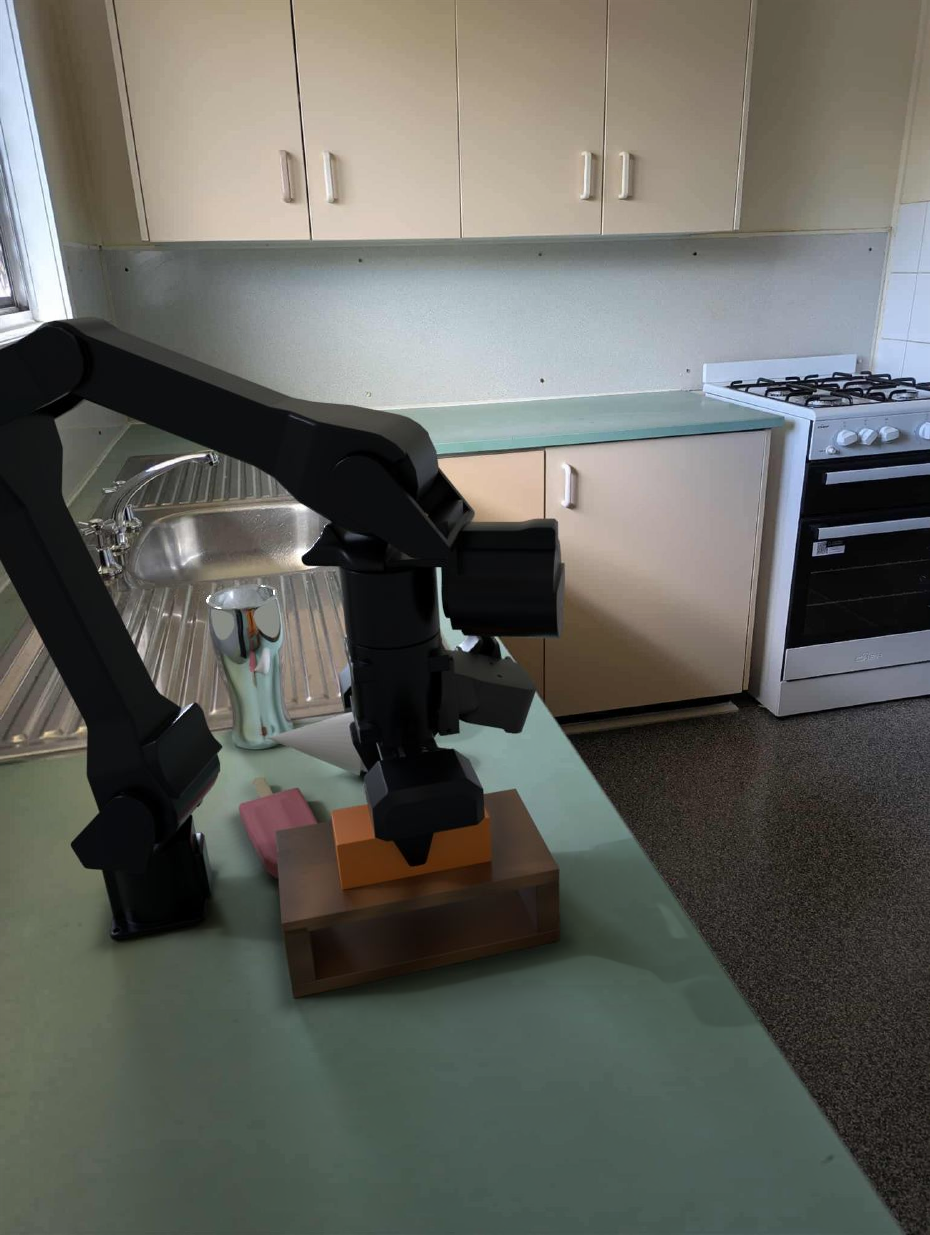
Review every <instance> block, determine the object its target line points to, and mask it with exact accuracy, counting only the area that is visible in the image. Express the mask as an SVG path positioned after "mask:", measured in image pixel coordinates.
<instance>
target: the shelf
mask: <svg viewBox="0 0 930 1235" xmlns="http://www.w3.org/2000/svg"><path fill="white" fill-rule="evenodd" d="M484 806H485V808H486V811H487V813H488V815H489V817H490V835H491V857H492V861H489V862H484V863H479V864H474V865H469V866H463V867H458V868H453V869H448V870H443V871H438V872H432V873H427V874H422V875H417V876H412V877H407V878H401V879H396V880H391V881H386V882H381V883H375V884H370V885H365V886H360V887H355V888H350V889H344V890H342V886H341V880H340V874H339V868H338V862H337V856H336V849H335V841H334V833H333V825H332V820H329V821H322V822H318V823H317V824H311V825H306V826H300V827H294V828H289V829H283V830H277V831H275V833H276V848H277V864H278V879H277V880H278V894H279V908H280V926H281V930H282V937H283V943H284V949H285V950H284V951H285V955H286V962H287V968H288V975H289V981H290V987H291V994H292V998H293V999H295V998H300V997H305V996H310V995H315V994H319V993H323V992H328V991H332V990H338V989H342V988H346V987H351V986H356V985H362V984H365V983H369V982H374V981H375V982H376V981H380V980H383V979H384V980H385V979H388V978H393V977H394V978H395V977H398V976H402V975H407V974H412V973H415V972H416V973H417V972H421V971H425V970H432V969H435V968H440V967H445V966H450V965H453V964H459V963H463V962H467V961H473V960H477V959H481V958H486V957H490V956H495V955H501V954H505V953H509V952H515V951H518V950H523V949H528V948H533V947H537V946H543V945H547V944H551V943H556V942H560V941H561V929H560V928H561V923H560V922H561V920H560V915H561V913H560V912H561V910H560V909H561V908H560V904H561V903H560V867H559V866H558V864H557V862H556V860H555V858H554V856H553V854H552V852H551V851H550V848H549V847H548V845H547V843H546V841H545V840H544V837H543V836H542V834H541V833H540V830H539V829H538V827H537V825H536V823H535V821H534V819H533V818H532V816H531V814H530V812H529V810H528V808H527V807H526V804H525V803H524V800H523V799H522V797H521V795H520V794H519V792H518V790H517V788H510V789H504V790H500V791H499V790H498V791H493V792H487V793H484Z"/></svg>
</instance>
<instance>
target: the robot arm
mask: <svg viewBox="0 0 930 1235" xmlns="http://www.w3.org/2000/svg"><path fill="white" fill-rule="evenodd" d="M86 401H88V402H90V403H93V404H95V405H97V406H100V407H103V408H105V409H108V410H110V411H113V412H116V413H118V414H120V415H123V416H126V417H127V418H131V419H133V420H135V421H138V422H140V423H144V424H146V425H147V426H150V427H153V428H155V429H159V430H161V431H164V432H166V433H169V434H171V435H173V436H176V437H179V438H181V439H184V440H186V441H189V442H192V443H194V444H196V445H199V446H201V447H204V448H206V449H209V450H212V451H215V452H217V453H219V454H222V455H225V456H227V457H230V458H232V459H235V460H237V461H239V462H242V463H244V464H247V465H250V466H252V467H254V468H257V469H258V470H260V471H262V472H263V473H265V474H267V475H268V476H270V477H272V478H273V479H274V480H275V481H276V482H277V483H278V484H279V485H280V486H281V487H283V489H285V491H286V492H288V494H289V495H291V497H292V498H293V499H294V500H295V501H297V502H298V503H299V504H301V505H303V506H304V507H306V508H307V509H309V510H310V511H313V512H315V513H316V514H317V515H319V516H321V517H323V518H324V519H325V520H327V521H329V522H327V523H326V524H325V525H324V526H323V529H322V531H321V533H320V535H319V537H318V538H317V540H316V541H315V542H314V544H313V545H312V546H311V547H310V548H309V549H308V550H307V551H306V552H304V553H303V554H302V555H301V563H302V565H304V566H306V567H333V568H334V567H335V568H338V573H339V574H338V575H339V582H340V583H339V584H340V591H341V592H340V593H341V602H342V611H343V621H344V628H345V637H343V645H344V652H345V657H346V660H347V664H346V665H345V666H344V667H343V668H342V670H341V671H340V672H339V673H338V684H339V692H340V698H341V704H342V708H343V711H344V714H346V713H349V712H352V713H353V717H354V722H351V723H350V724H349V730H350V734H351V739H352V743H353V745H354V747H355V749H356V751H357V753H358V754H359V756H360V758H361V760H362V762H363V764H364V766H365V767H366V769H367V771H368V772H366V774H365V775H364V777H363V780H364V784H363V785H362V786H363V791H364V795H365V799H366V804H368V809H369V814H370V818H371V823H372V827H373V831H374V835H375V838H378V839H381V840H384V841H386V842H388V841H393V842H394V843H395V845H396V846H397V848H398V849H399V851H400V852H401V854H402V855H403V857H404V858H405V860H406V861H407V863H408V864H409V866H411V867H414V866H419V865H423V864H425V863H426V862H427V858H428V854H429V850H430V846H431V842H432V838H433V835H434V833H436V832H442V831H447V830H453V829H458V828H464V827H469V826H474V825H478V824H479V823H480V822H481V821H482V820H483V819H484V818H485V810H484V794H485V792H484V787H483V785H482V783H481V781H480V779H479V777H478V775H477V773H476V771H475V769H474V767H473V764H472V762H471V760H470V758H468V757H466V756H465V755H463V754H462V753H461V752H460V751H458V750H456V749H455V748H453V747H452V748H448V747H440V746H438V743H437V741H436V738H435V737H436V736H437V735H438V736H440V737H445V736H452V735H458V734H460V733H461V730H460V727H461V726H460V721H461V722H463V723H466V724H469V725H477V726H482V727H488V728H495V729H500V730H503V732H505V733H507V734H514V735H518V734H521V733H522V732H523V729H524V726H525V724H526V721H527V718H528V715H529V713H530V709H531V707H532V704H533V701H534V697H535V694H536V692H537V689H538V687H537V684H536V683H535V682H534V680H533V679H532V678H531V676H530V675H529V674H528V672H527V671H526V670H525V668H524V667H523V666H522V665H521V664H519V663H518V662H516V661H514V660H513V658H512V657H511V656H509V655H505V656H504V658H503V656H502V652H501V645H500V643H499V641H498V640H497V639H496V638H526V639H527V638H530V639H531V638H532V639H561V637H562V633H563V626H564V614H565V598H566V597H565V596H566V595H565V593H566V590H565V589H566V564H565V562H562V551H561V543H560V542H561V541H560V539H559V521H558V520H557V518H552V517H551V518H546V517H545V518H531V519H527V520H523V521H473V519H474V518H475V515H476V513H475V512H476V511H475V510H474V508H473V507H472V506H471V505H470V504H469V502H468V501H467V500H466V498H465V497H464V496H463V495H462V494H461V493H460V491H459V490H458V489H457V488H456V486H455V485H454V484H453V482H451V480H450V479H449V478H448V476H447V475H446V474H445V472H443V470H442V469H441V467H440V466H439V459H438V453H437V449H436V447H435V445H434V442H433V441H432V438H431V437H430V433H429V431H427V430H426V428H424V427H423V425H422V424H420V423H419V422H417V421H415V420H414V419H412V418H411V417H408V416H406V415H403V414H399V413H394V412H389V411H384V410H380V409H379V410H378V409H374V408H370V407H364V406H359V405H354V404H344V403H334V402H324V401H323V402H322V401H312V400H307V399H302V398H298V397H293V396H289V395H288V394H284V393H282V392H280V391H277V390H274V389H272V388H270V387H267V386H264V385H261V384H259V383H256V382H254V381H251V380H249V379H247V378H244V377H242V376H238V375H236V374H233V373H231V372H228V371H226V370H224V369H221V368H218V367H215V366H212V365H210V364H208V363H205V362H202V361H200V360H198V359H195V358H192V357H190V356H188V355H185V354H182V353H179V352H177V351H174V350H172V349H169V348H167V347H165V346H162V345H159V344H157V343H155V342H151V341H149V340H146V339H143V338H142V337H138V336H136V335H135V334H131V333H128V332H126V331H123V330H121V329H120V328H119V327H117V326H115V325H114V324H112V323H111V322H110V321H108V320H107V319H105V318H101V317H96V316H84V317H74V318H73V317H72V318H65V319H56V320H50V321H47V322H43V323H42V324H40V325H39V326H38V327H36V328H35V330H33V331H31V332H30V333H28V334H26V335H25V336H23V337H21V338H20V339H18V340H16V341H15V342H13V343H11V344H9V345H7V346H4V347H2V348H0V564H1V565H2V567H3V569H4V571H5V572H6V575H7V576H8V578H9V581H10V582H11V584H12V586H13V588H14V590H15V592H16V593H17V595H18V597H19V599H20V601H21V603H22V605H23V607H24V610H25V611H26V613H27V615H28V616H29V619H30V620H31V622H32V624H33V626H34V628H35V631H36V632H37V633H38V635H39V638H40V639H41V642H42V643H43V645H44V647H45V649H46V651H47V653H48V654H49V656H50V658H51V661H52V662H53V664H54V666H55V668H56V670H57V671H58V674H59V676H60V678H61V680H62V681H63V683H64V685H65V686H66V689H67V691H68V693H69V694H70V696H71V698H72V701H73V703H75V706H76V708H77V710H78V712H79V713H80V715H81V718H82V719H83V721H84V724H85V726H86V733H87V734H86V772H85V774H86V779H87V781H88V782H87V783H88V784H89V788H90V790H91V793H92V796H93V798H94V802H95V805H96V807H97V810H98V813H97V814H96V815H95V816H94V817H93V818H92V819H91V820H90V822H88V823H87V825H86V826H85V827H84V828H83V829H82V830H81V831H80V833H78V834H77V835H76V837H74V839H73V840H72V841H71V842H70V847H71V848H72V851H73V852H74V854H75V856H76V857H77V859H78V860H79V862H80V864H81V865H82V867H83V868H85V869H86V870H96V871H101V873H102V877H103V880H104V885H105V890H106V893H107V897H108V901H109V905H110V910H111V914H112V916H111V920H110V921H111V922H110V927H109V931H108V932H109V937H110V939H111V940H112V941H117V940H123V939H128V938H133V937H138V936H145V935H149V934H153V933H159V932H165V931H169V930H175V929H179V928H184V927H189V926H195V925H199V924H202V923H203V922H204V921H205V920H206V913H207V911H206V910H207V900H209V899H210V898H211V897H212V893H213V892H212V889H213V873H212V869H211V868H212V867H211V862H210V858H209V857H210V856H209V852H208V847H207V842H206V836H205V834H204V833H203V832H196V827H195V820H194V816H193V814H194V812H195V810H196V809H197V808H199V807H200V806H201V805H202V803H203V801H204V798H205V797H206V796H207V794H208V793H209V792H210V791H211V790H212V788H213V787H214V786H215V784H216V782H217V780H218V777H219V773H221V760H220V757H219V755H218V754H219V752H220V751H221V750H222V749H223V745H222V744H221V743H220V742H219V740H217V738H216V737H215V735H214V734H213V733H212V731H211V730H210V728H209V725H208V722H207V718H206V715H205V712H204V709H203V707H202V706H201V705H200V704H199V703H198V702H192V703H189V704H187V705H185V706H183V707H181V706H180V705H178V704H177V703H176V702H173V700H170V699H169V698H168V697H166V696H164V695H163V694H162V693H161V692H160V691H159V690H158V688H157V687H156V685H155V684H154V681H153V680H152V677H151V675H150V673H149V671H148V669H147V667H146V665H145V662H144V660H143V659H142V657H141V655H140V653H139V651H138V649H137V647H136V645H135V643H134V641H133V638H132V636H131V634H130V633H129V630H128V629H127V627H126V624H125V622H124V620H123V618H122V616H121V614H120V612H119V609H118V607H117V606H116V603H115V602H114V600H113V597H112V596H111V594H110V592H109V589H108V587H107V585H106V584H105V582H104V580H103V578H102V575H101V573H100V571H99V569H98V567H97V565H96V562H95V561H94V558H93V557H92V554H91V552H90V551H89V549H88V547H87V544H86V543H85V541H84V538H83V536H82V534H81V532H80V530H79V528H78V526H77V524H76V522H75V521H74V518H73V516H72V514H71V511H70V510H69V508H68V506H67V504H66V502H65V499H64V494H63V470H64V469H63V467H64V466H63V465H64V446H63V442H62V440H61V436H60V434H59V429H58V427H57V424H56V421H55V420H57V419H59V418H61V417H63V416H65V415H66V414H68V413H69V412H71V411H73V410H75V409H77V408H78V407H80V406H82V404H83V403H85V402H86ZM437 568H440V575H441V577H440V578H441V582H440V584H441V586H440V589H441V590H440V594H441V606H442V612H443V615H444V617H445V618H446V619H449V623H450V626H451V630H452V631H461V634H462V636H464V637H466V638H465V639H464V640H463V641H462V642H461V643H460V644H459V645H455V646H454V649H453V650H452V649H447V648H446V647H445V646H444V644H443V638H442V634H441V633H442V632H441V631H442V630H441V618H440V617H441V616H440V600H439V587H438V571H437V570H438V569H437Z"/></svg>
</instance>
